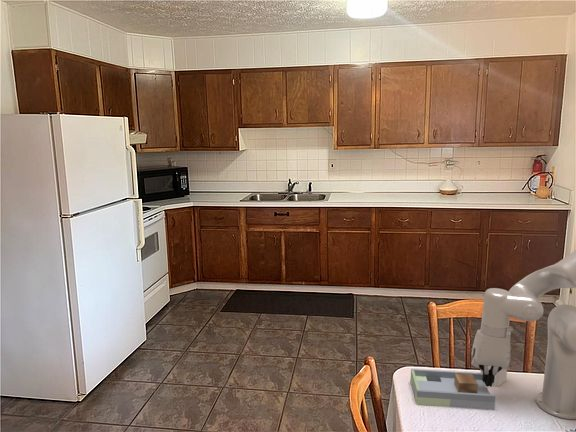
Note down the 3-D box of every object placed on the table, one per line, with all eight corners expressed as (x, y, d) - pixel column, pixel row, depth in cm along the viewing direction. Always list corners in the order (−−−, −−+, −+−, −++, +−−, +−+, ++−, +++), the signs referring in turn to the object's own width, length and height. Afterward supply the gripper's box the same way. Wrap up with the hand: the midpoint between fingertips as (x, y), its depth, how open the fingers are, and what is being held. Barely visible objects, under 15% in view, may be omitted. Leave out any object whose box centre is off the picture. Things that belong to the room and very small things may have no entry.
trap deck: (480, 385, 143) (482, 373, 142) (494, 409, 130) (495, 396, 130) (410, 381, 146) (411, 368, 145) (416, 404, 133) (417, 391, 132)
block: (472, 384, 139) (472, 374, 139) (477, 394, 134) (477, 384, 133) (454, 383, 140) (454, 373, 139) (458, 393, 135) (459, 382, 134)
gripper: (515, 326, 135) (508, 380, 139) (465, 322, 137) (459, 375, 140) (525, 336, 128) (517, 393, 131) (472, 332, 130) (465, 389, 133)
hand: (487, 384), depth 136 cm, fingers closed
